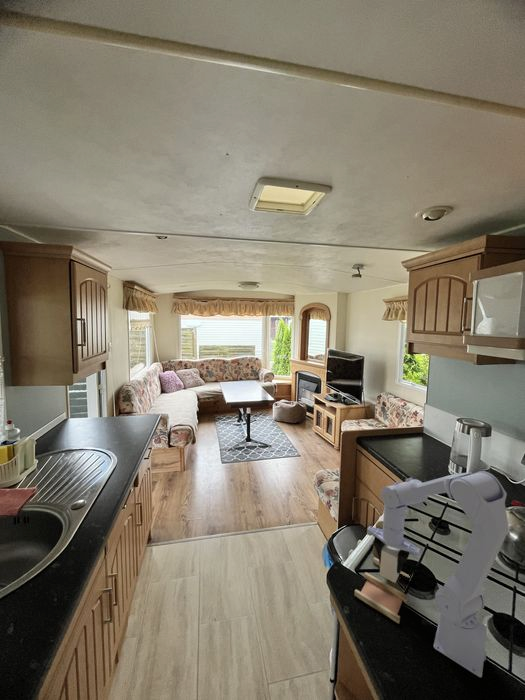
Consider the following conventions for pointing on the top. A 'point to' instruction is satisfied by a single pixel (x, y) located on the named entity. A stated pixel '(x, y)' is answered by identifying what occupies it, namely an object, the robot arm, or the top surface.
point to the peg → (389, 563)
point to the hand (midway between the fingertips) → (390, 566)
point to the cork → (379, 526)
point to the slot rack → (382, 595)
